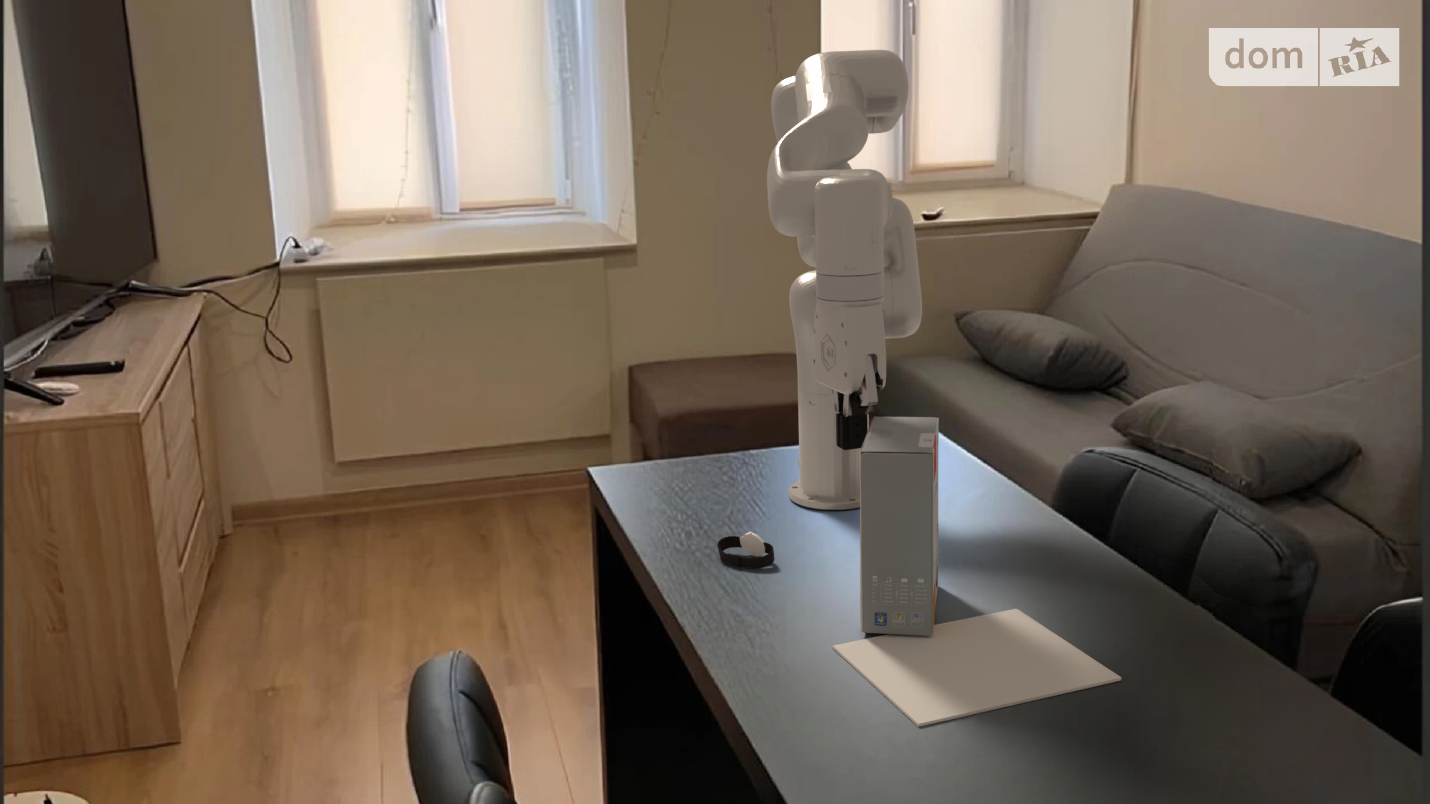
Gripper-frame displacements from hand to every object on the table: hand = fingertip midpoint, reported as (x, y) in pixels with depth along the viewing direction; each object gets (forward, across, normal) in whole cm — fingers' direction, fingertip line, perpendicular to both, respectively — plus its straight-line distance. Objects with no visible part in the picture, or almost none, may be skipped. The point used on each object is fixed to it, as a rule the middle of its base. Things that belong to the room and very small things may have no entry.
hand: (852, 446), depth 150 cm
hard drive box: (+16, +11, 0) cm, 19 cm away
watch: (+16, -10, -10) cm, 21 cm away
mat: (+16, +26, 0) cm, 30 cm away
